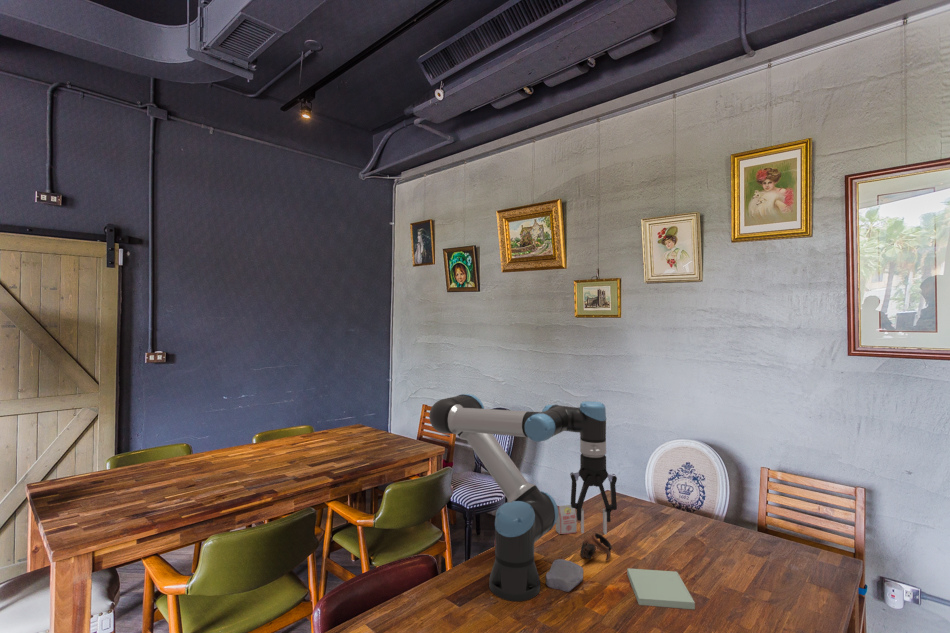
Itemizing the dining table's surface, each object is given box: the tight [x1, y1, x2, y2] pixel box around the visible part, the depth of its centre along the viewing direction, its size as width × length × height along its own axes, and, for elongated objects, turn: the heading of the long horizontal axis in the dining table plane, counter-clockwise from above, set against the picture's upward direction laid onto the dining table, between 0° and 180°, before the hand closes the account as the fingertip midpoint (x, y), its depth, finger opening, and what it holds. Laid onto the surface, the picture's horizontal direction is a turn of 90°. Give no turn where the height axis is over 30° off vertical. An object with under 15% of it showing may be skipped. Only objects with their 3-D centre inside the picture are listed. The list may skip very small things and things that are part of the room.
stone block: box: [545, 558, 584, 593], centre depth 142 cm, size 12×5×10 cm
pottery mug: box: [579, 532, 613, 562], centre depth 156 cm, size 12×9×8 cm
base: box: [626, 567, 696, 610], centre depth 138 cm, size 15×16×2 cm
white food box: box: [555, 504, 577, 535], centre depth 177 cm, size 4×7×10 cm, turn 106°
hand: (593, 531), depth 139 cm, fingers open, 6 cm apart
